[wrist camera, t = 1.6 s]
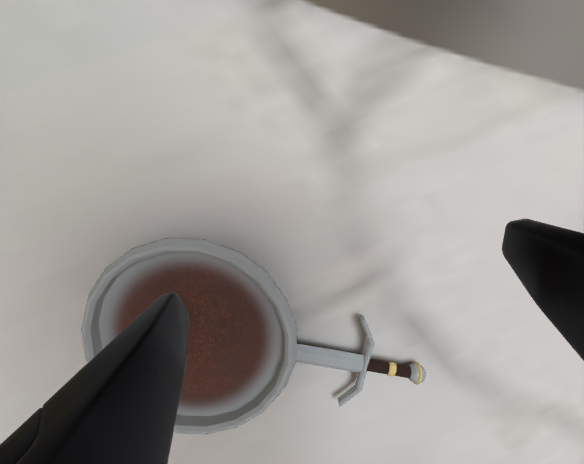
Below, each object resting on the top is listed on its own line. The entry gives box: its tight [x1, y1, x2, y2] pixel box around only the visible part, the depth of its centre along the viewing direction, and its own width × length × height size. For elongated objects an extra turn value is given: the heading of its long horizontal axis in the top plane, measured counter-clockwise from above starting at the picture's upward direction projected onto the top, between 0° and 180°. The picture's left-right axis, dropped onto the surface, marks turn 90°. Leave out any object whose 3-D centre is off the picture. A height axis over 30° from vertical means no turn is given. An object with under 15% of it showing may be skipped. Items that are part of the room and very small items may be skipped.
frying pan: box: [81, 238, 426, 434], centre depth 25 cm, size 17×3×28 cm
